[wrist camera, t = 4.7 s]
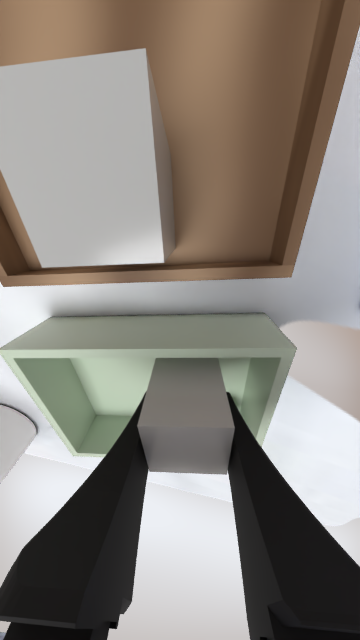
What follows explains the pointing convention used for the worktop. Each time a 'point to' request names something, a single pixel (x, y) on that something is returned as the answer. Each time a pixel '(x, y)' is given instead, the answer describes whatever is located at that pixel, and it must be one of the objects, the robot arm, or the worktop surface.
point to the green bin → (142, 368)
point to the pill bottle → (13, 438)
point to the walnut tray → (205, 122)
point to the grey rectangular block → (186, 417)
